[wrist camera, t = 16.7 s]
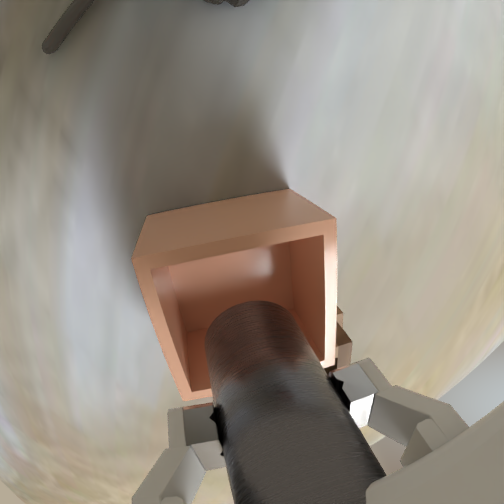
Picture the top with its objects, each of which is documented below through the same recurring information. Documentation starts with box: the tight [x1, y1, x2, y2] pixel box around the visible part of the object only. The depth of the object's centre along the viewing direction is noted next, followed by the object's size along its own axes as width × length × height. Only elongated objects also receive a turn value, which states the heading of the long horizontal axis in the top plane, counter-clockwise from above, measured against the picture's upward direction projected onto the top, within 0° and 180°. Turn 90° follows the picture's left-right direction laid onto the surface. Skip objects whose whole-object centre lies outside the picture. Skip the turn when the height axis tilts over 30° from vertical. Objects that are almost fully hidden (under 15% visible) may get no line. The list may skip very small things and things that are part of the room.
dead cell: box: [204, 300, 387, 504], centre depth 9 cm, size 4×4×10 cm
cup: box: [131, 189, 337, 401], centre depth 16 cm, size 8×8×6 cm
